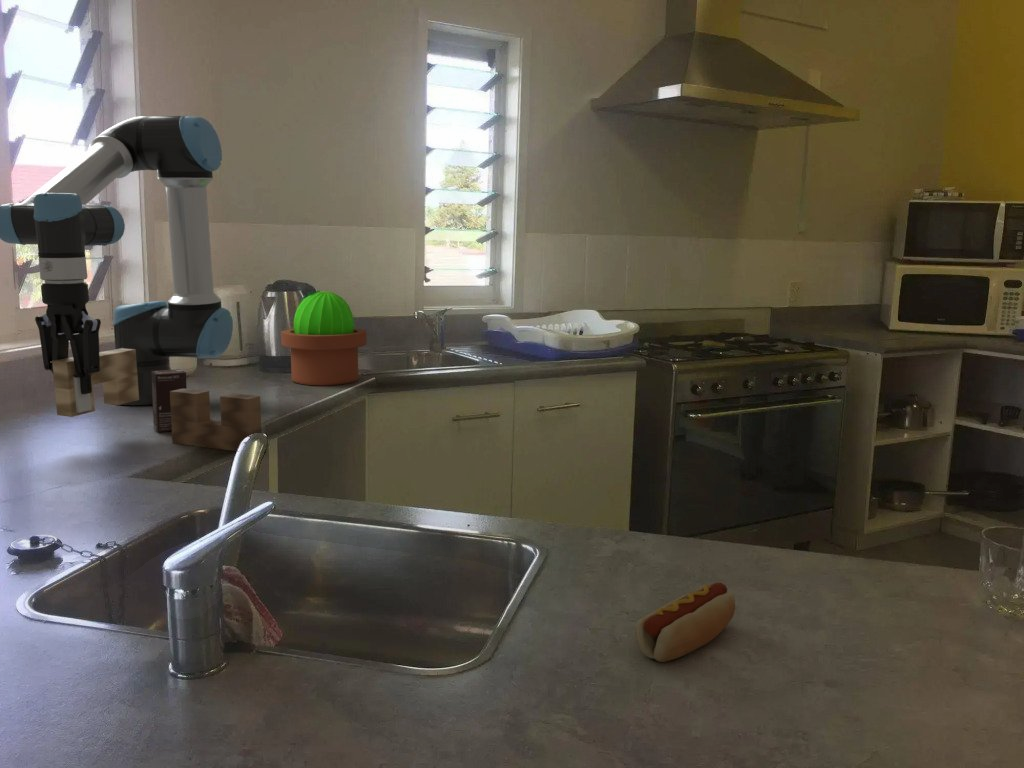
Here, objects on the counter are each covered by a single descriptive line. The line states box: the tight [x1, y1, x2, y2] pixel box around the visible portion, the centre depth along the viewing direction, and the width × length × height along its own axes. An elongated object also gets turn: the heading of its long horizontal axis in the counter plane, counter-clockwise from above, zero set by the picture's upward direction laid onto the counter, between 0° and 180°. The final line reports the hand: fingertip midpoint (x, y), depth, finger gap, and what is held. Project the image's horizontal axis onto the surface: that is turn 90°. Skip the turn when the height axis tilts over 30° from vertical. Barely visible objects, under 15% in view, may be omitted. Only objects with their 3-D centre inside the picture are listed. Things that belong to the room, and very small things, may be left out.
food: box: [634, 582, 736, 663], centre depth 88 cm, size 14×6×5 cm, turn 137°
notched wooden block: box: [170, 388, 262, 452], centre depth 165 cm, size 18×4×10 cm, turn 68°
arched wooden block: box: [51, 348, 139, 418], centre depth 165 cm, size 16×4×10 cm, turn 158°
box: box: [151, 368, 188, 433], centre depth 178 cm, size 6×4×12 cm
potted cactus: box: [280, 289, 368, 386], centre depth 238 cm, size 22×22×25 cm
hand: (75, 409), depth 161 cm, fingers closed on arched wooden block, 3 cm apart
